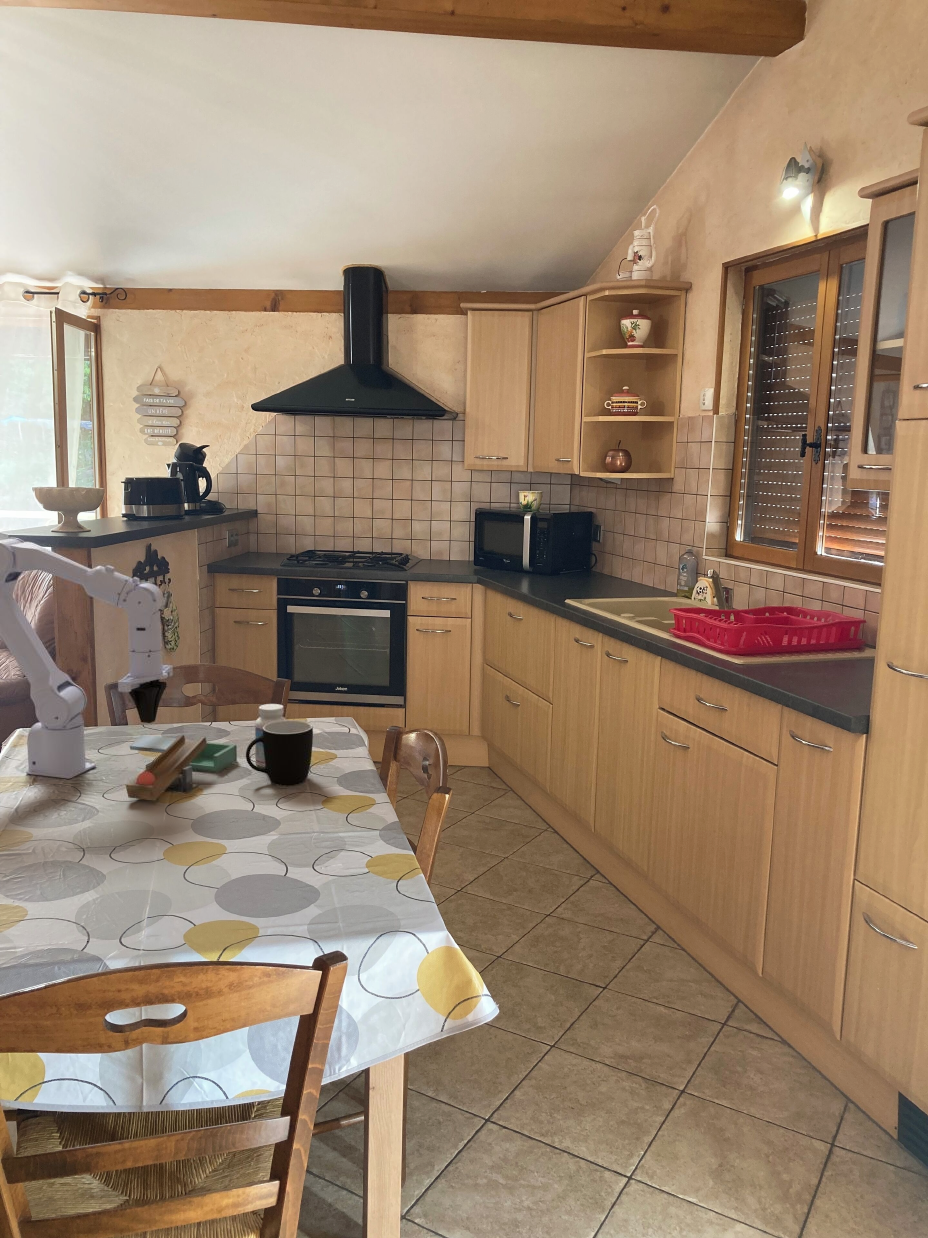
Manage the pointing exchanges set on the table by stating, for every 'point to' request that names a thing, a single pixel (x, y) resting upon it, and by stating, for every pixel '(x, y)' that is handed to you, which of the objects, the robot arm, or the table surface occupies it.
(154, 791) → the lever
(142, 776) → the ball
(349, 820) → the table surface
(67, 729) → the robot arm
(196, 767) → the dish
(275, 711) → the pill bottle
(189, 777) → the stand
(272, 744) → the mug
